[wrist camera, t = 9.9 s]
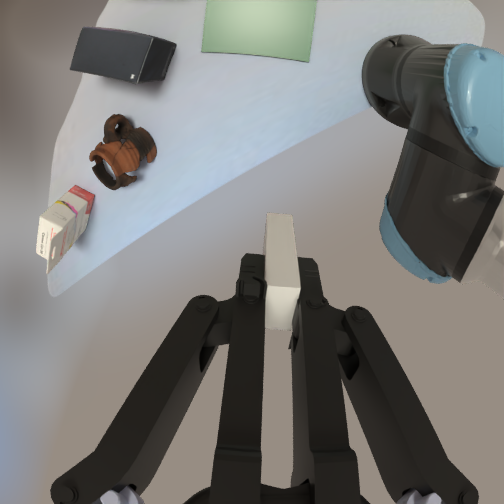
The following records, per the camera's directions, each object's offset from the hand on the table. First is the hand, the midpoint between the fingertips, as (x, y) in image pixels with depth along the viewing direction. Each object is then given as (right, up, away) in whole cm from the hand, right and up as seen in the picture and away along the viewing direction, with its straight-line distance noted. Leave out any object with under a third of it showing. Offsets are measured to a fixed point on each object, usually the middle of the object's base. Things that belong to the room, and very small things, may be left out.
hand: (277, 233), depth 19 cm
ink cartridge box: (-34, +7, +32) cm, 47 cm away
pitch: (0, +36, +10) cm, 37 cm away
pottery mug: (-21, +16, +25) cm, 37 cm away
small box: (-18, +28, +17) cm, 37 cm away
